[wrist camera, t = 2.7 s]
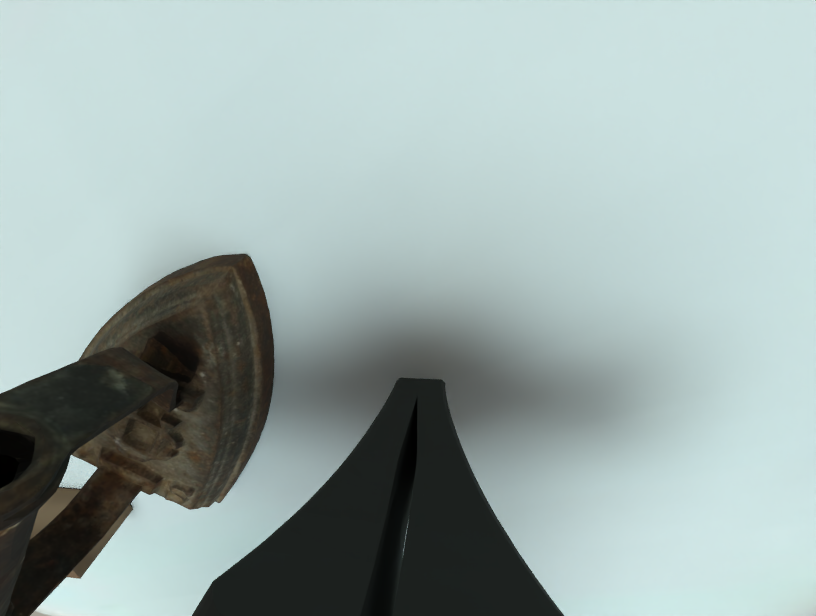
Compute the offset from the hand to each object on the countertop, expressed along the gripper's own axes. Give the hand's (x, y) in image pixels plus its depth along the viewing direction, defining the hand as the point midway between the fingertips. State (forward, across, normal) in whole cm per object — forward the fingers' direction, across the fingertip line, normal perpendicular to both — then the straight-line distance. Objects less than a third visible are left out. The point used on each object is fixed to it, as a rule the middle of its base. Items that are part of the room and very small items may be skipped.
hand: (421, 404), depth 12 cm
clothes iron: (+1, +8, 0) cm, 8 cm away
